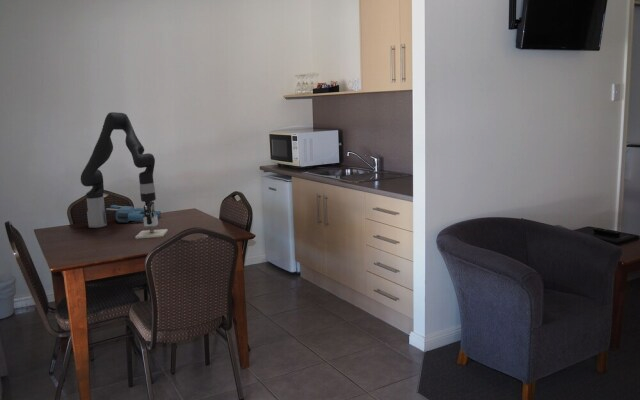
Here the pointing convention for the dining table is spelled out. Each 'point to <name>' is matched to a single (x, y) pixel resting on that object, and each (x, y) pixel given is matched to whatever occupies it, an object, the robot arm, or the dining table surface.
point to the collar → (153, 219)
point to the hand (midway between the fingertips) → (150, 222)
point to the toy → (130, 213)
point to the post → (152, 233)
